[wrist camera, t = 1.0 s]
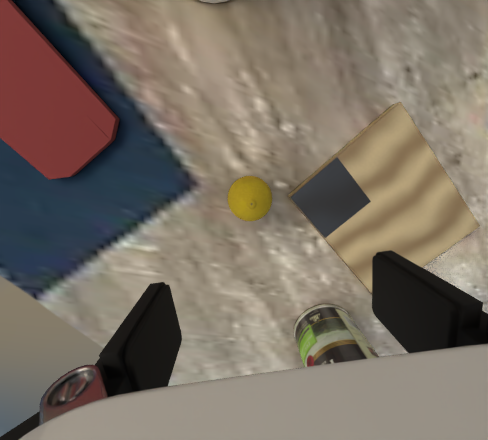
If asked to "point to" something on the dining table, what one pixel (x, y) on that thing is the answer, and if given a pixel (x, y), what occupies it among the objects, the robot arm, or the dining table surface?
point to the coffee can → (330, 337)
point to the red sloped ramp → (47, 102)
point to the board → (385, 197)
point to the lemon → (249, 198)
